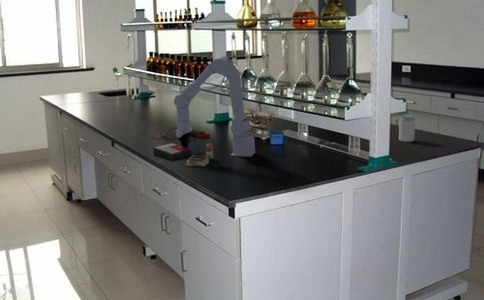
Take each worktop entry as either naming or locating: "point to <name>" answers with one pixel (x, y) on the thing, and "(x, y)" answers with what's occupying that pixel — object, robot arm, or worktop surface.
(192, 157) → the tan rectangular frame
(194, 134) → the digital clamp meter
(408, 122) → the can
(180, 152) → the calculator
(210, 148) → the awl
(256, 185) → the worktop surface
